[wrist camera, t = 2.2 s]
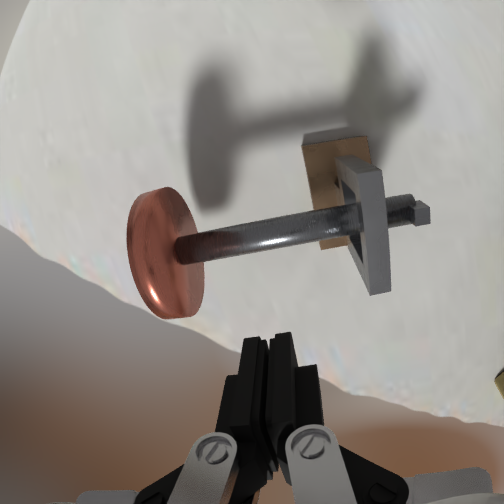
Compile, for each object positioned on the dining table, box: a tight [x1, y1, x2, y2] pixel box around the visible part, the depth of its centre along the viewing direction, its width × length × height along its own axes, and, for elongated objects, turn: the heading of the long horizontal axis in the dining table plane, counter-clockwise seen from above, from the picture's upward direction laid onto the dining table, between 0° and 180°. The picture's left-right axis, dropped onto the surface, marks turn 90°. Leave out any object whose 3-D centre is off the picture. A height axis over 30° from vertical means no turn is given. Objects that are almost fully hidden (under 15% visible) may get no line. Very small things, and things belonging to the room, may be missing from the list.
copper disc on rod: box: [127, 187, 430, 319], centre depth 23 cm, size 10×21×10 cm, turn 103°
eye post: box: [301, 136, 391, 296], centre depth 24 cm, size 10×6×12 cm, turn 13°
